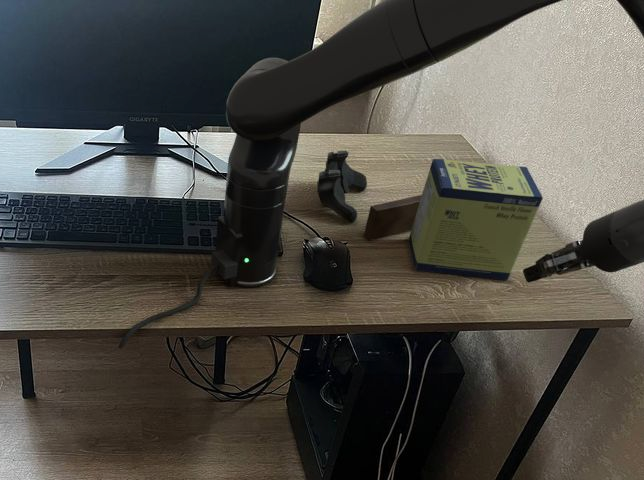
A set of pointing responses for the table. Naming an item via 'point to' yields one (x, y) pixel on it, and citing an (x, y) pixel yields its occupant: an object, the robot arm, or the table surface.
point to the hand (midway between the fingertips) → (527, 275)
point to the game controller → (339, 185)
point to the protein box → (473, 218)
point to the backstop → (391, 218)
